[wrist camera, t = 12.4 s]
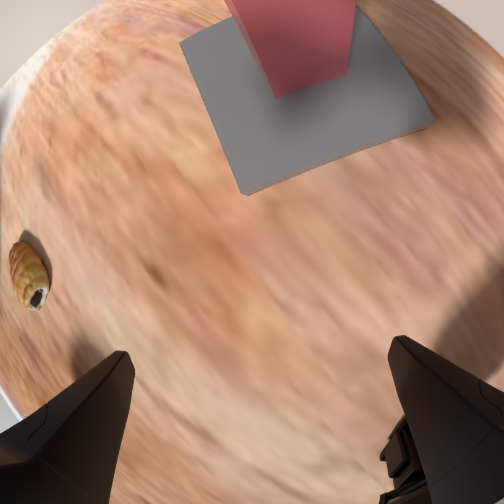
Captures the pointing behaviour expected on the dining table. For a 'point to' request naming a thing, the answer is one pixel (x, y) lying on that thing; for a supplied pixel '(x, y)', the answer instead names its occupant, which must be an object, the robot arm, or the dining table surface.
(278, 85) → the red rectangular block
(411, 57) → the dining table surface
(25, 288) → the pastry
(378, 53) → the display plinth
